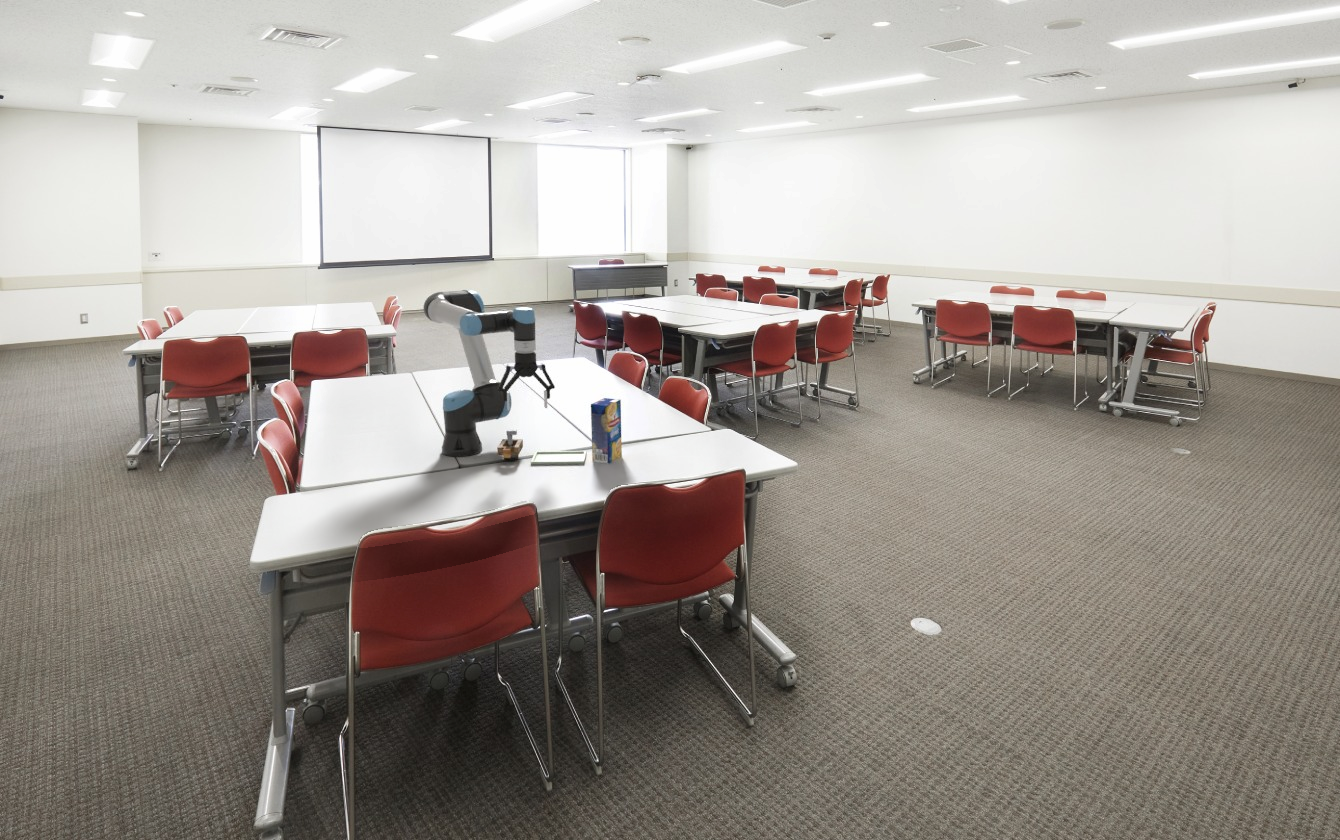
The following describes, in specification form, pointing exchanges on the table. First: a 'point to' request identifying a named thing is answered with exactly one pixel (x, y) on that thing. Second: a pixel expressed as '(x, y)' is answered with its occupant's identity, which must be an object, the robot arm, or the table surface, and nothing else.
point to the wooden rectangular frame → (510, 448)
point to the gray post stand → (510, 443)
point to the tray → (558, 457)
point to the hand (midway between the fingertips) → (527, 408)
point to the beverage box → (606, 430)
